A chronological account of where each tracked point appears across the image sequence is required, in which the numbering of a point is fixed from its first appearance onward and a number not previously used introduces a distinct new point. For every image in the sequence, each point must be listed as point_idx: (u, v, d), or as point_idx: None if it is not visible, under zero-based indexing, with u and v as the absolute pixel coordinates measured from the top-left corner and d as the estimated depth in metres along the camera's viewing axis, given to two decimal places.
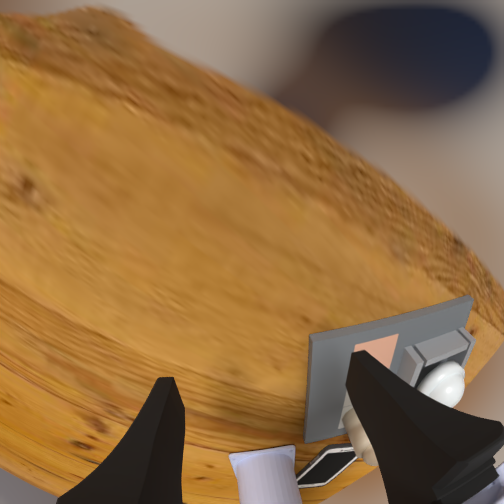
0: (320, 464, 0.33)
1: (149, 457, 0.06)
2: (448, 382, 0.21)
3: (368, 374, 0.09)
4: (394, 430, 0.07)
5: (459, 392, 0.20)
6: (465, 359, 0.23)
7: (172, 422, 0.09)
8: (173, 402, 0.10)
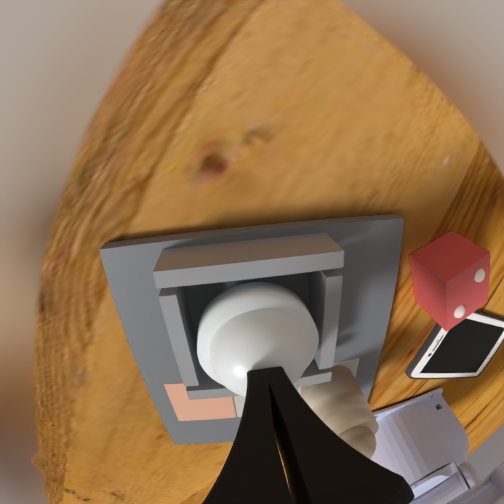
0: (445, 367, 0.22)
1: (277, 450, 0.07)
2: None
3: (272, 394, 0.09)
4: (290, 458, 0.07)
5: (233, 377, 0.11)
6: (213, 276, 0.12)
7: None
8: None
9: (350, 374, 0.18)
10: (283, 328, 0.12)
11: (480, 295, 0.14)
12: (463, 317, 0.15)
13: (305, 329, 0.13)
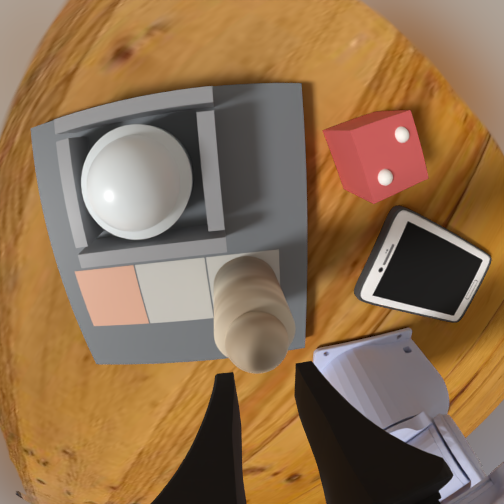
0: (407, 294, 0.21)
1: (232, 455, 0.06)
2: None
3: (307, 388, 0.09)
4: (328, 450, 0.07)
5: (94, 188, 0.11)
6: (96, 116, 0.12)
7: (236, 418, 0.09)
8: (235, 398, 0.10)
9: (267, 266, 0.18)
10: (142, 142, 0.11)
11: (413, 164, 0.14)
12: (395, 189, 0.14)
13: (173, 157, 0.13)
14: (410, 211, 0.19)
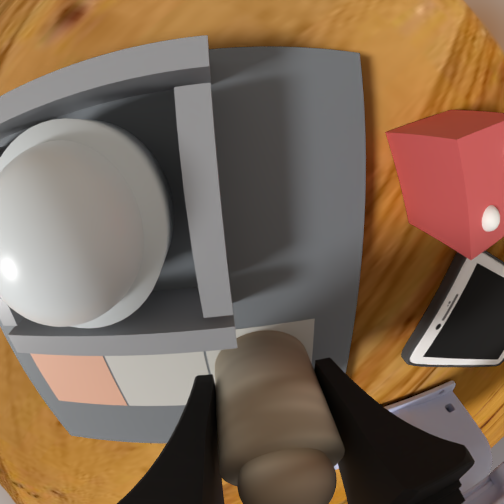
0: (460, 348, 0.15)
1: (203, 457, 0.06)
2: None
3: (328, 384, 0.09)
4: (352, 444, 0.07)
5: None
6: (2, 112, 0.05)
7: (214, 420, 0.09)
8: (214, 400, 0.10)
9: (297, 347, 0.11)
10: (59, 156, 0.05)
11: None
12: (497, 235, 0.08)
13: (127, 182, 0.06)
14: None
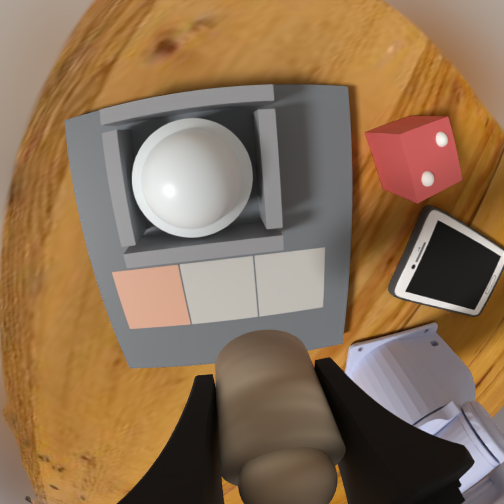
0: (435, 290, 0.21)
1: (203, 457, 0.06)
2: (147, 203, 0.13)
3: (328, 384, 0.09)
4: (352, 444, 0.07)
5: (155, 182, 0.11)
6: (149, 108, 0.12)
7: (214, 420, 0.09)
8: (214, 400, 0.10)
9: (298, 346, 0.11)
10: (207, 136, 0.12)
11: (450, 167, 0.14)
12: (435, 190, 0.14)
13: (235, 153, 0.13)
14: (440, 210, 0.19)
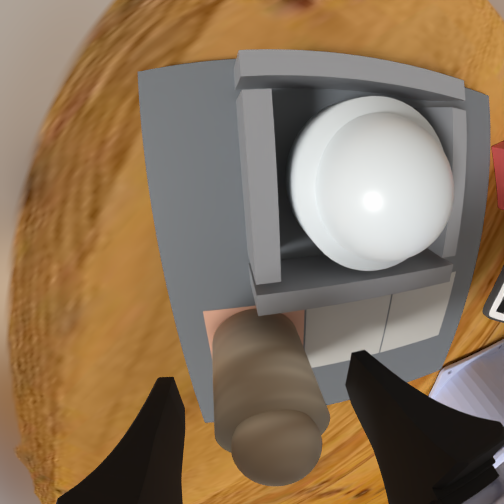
0: None
1: (149, 457, 0.06)
2: (330, 220, 0.08)
3: (368, 374, 0.09)
4: (394, 430, 0.07)
5: (380, 189, 0.06)
6: (328, 67, 0.07)
7: (172, 422, 0.09)
8: (173, 402, 0.10)
9: (287, 324, 0.12)
10: (426, 131, 0.07)
11: None
12: None
13: None
14: None
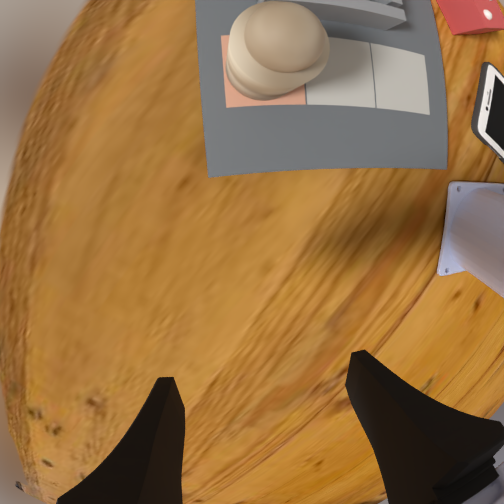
0: None
1: (149, 457, 0.06)
2: None
3: (367, 374, 0.09)
4: (394, 430, 0.07)
5: None
6: None
7: (172, 422, 0.09)
8: (173, 402, 0.10)
9: None
10: None
11: (499, 16, 0.10)
12: (494, 25, 0.10)
13: None
14: (495, 67, 0.14)
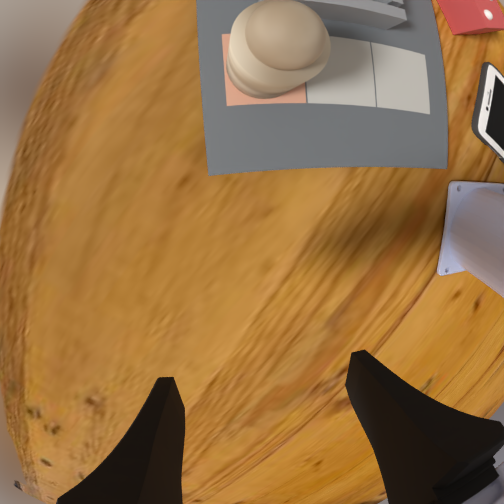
0: None
1: (149, 457, 0.06)
2: None
3: (368, 374, 0.09)
4: (394, 430, 0.07)
5: None
6: None
7: (172, 422, 0.09)
8: (173, 402, 0.10)
9: None
10: None
11: (499, 16, 0.10)
12: (495, 25, 0.10)
13: None
14: (495, 67, 0.14)
